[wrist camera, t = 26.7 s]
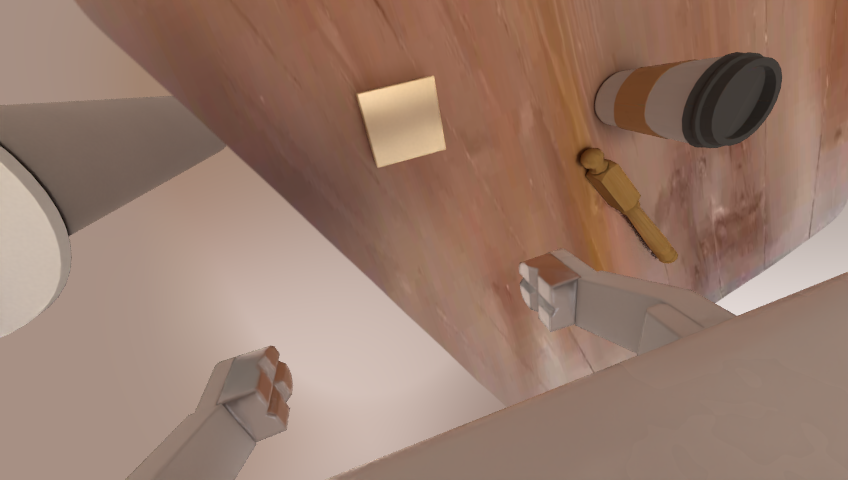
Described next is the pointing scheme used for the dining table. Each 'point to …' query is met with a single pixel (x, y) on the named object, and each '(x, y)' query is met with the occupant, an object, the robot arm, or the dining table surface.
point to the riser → (402, 120)
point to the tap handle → (625, 200)
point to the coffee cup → (693, 99)
